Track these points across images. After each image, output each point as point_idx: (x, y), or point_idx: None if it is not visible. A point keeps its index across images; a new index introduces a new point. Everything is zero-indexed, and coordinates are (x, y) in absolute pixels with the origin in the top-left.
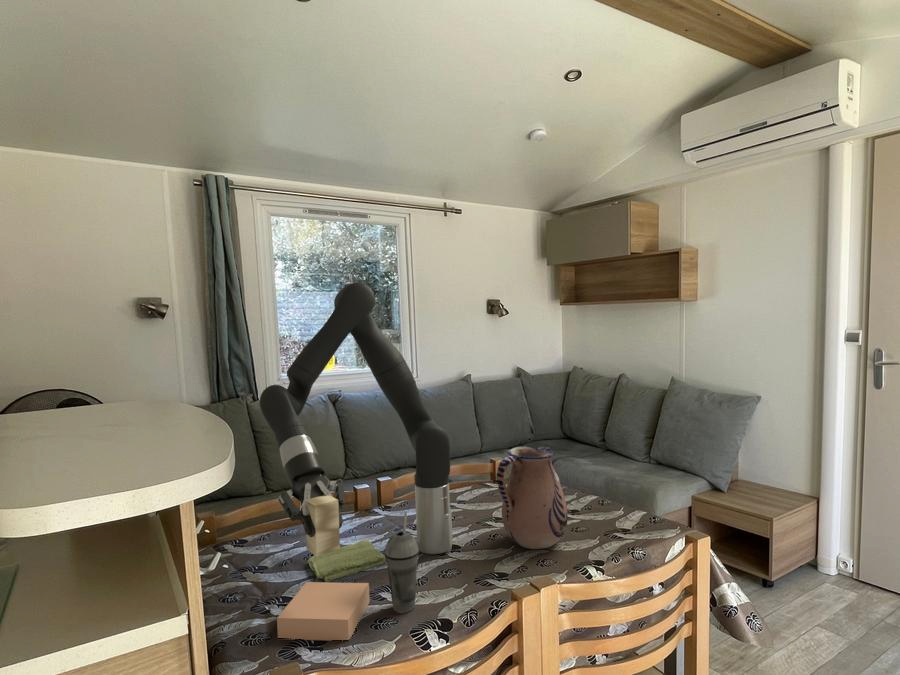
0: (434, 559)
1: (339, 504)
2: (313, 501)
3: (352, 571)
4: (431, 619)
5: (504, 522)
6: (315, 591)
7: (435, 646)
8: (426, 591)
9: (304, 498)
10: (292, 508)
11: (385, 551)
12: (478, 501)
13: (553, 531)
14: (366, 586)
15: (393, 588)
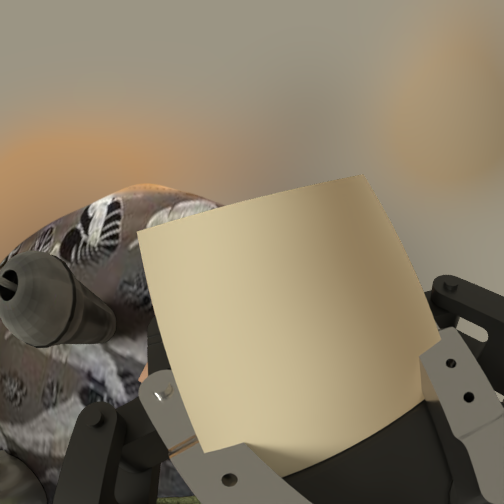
0: (24, 448)
1: (132, 411)
2: (389, 292)
3: (169, 499)
4: (78, 265)
5: None
6: None
7: (104, 202)
8: (53, 354)
9: (466, 350)
10: (479, 294)
11: (67, 304)
12: None
13: None
14: (145, 367)
15: (99, 303)
